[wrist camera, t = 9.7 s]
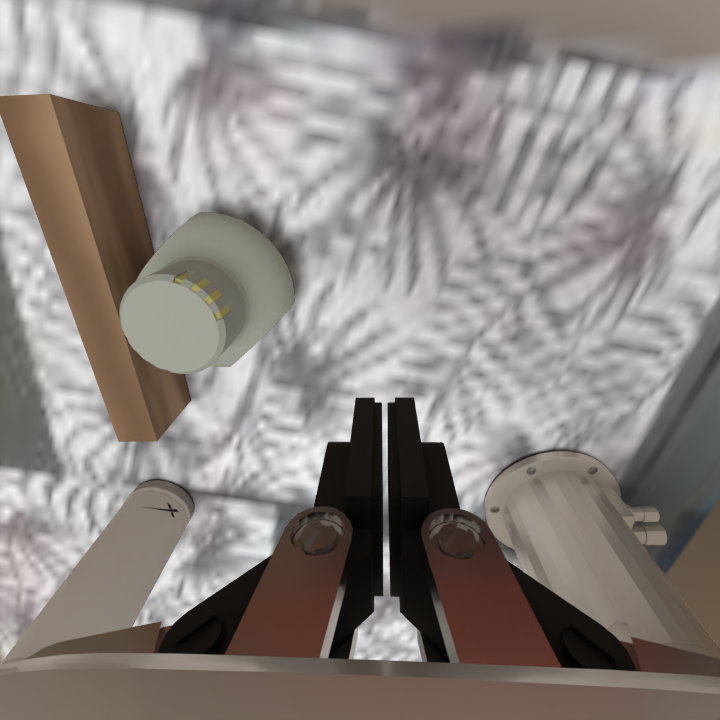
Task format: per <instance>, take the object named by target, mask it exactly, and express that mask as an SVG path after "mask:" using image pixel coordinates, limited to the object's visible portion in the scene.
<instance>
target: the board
mask: <svg viewBox="0 0 720 720" xmlns="http://www.w3.org/2000/svg"><path fill="white" fill-rule="evenodd" d="M0 115H1V118H2V120H3V123H4V126H5V129H6V131H7V134H8V137H9V140H10V142H11V145H12V148H13V151H14V154H15V156H16V159H17V162H18V165H19V167H20V170H21V173H22V176H23V178H24V181H25V184H26V187H27V189H28V192H29V195H30V198H31V201H32V203H33V206H34V209H35V212H36V214H37V217H38V220H39V223H40V225H41V228H42V231H43V234H44V236H45V239H46V242H47V245H48V248H49V250H50V253H51V256H52V259H53V261H54V264H55V267H56V270H57V272H58V275H59V278H60V281H61V283H62V286H63V289H64V292H65V295H66V297H67V300H68V303H69V306H70V308H71V311H72V314H73V317H74V319H75V322H76V325H77V328H78V331H79V333H80V336H81V339H82V342H83V344H84V347H85V350H86V353H87V355H88V358H89V361H90V364H91V366H92V369H93V372H94V375H95V378H96V380H97V383H98V386H99V389H100V391H101V394H102V397H103V400H104V402H105V405H106V408H107V411H108V413H109V416H110V419H111V422H112V425H113V427H114V430H115V433H116V436H117V438H118V441H119V442H122V441H158V440H159V438H160V437H161V436H162V435H163V434H164V432H165V431H166V430H167V429H168V428H169V426H170V425H171V424H172V423H173V421H174V420H175V419H176V418H177V417H178V415H179V414H180V413H181V412H182V411H183V409H184V408H185V407H186V406H187V405H188V403H189V402H190V401H191V398H190V394H189V390H188V386H187V382H186V378H185V374H178V373H172V372H170V371H169V370H165V369H164V370H162V369H160V368H157V367H155V366H154V365H153V364H151V363H150V362H147V361H146V360H144V359H143V358H142V357H141V356H140V355H139V354H138V353H137V352H136V351H135V350H134V349H133V348H132V346H131V345H130V344H129V341H128V339H127V337H126V336H125V335H124V332H123V330H122V327H121V322H120V304H121V301H122V298H123V295H124V294H125V292H126V291H127V289H128V288H129V287H130V286H131V285H132V284H133V283H134V282H136V280H137V278H138V276H139V274H140V273H141V271H142V270H143V268H144V267H145V265H146V264H147V263H148V261H149V260H150V259H151V258H152V256H153V255H154V251H153V247H152V243H151V239H150V235H149V231H148V227H147V223H146V219H145V215H144V211H143V207H142V203H141V199H140V195H139V191H138V188H137V184H136V180H135V176H134V172H133V168H132V164H131V160H130V156H129V152H128V148H127V144H126V140H125V136H124V132H123V128H122V124H121V120H120V116H119V113H118V112H115V111H111V110H107V109H104V108H100V107H96V106H92V105H89V104H85V103H81V102H77V101H74V100H70V99H66V98H63V97H59V96H55V95H51V94H39V95H17V96H0Z"/></svg>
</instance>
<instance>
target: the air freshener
mask: <svg viewBox="0 0 720 720" xmlns="http://www.w3.org/2000/svg"><path fill="white" fill-rule="evenodd" d="M293 304H294V287H293V281H292V278H291V275H290V272H289V269H288V267H287V265H286V263H285V261H284V259H283V257H282V255H281V254H280V253H279V251H278V250H277V248H276V247H275V246H274V245H273V243H272V242H271V241H270V240H269V239H268V238H267V237H266V236H265V235H263V234H262V233H261V232H259V231H258V230H257V229H255V228H254V227H253V226H251V225H249V224H247V223H245V222H244V221H242V220H240V219H237V218H234V217H231V216H228V215H224V214H219V213H213V212H201V213H198V214H196V215H195V216H193V217H192V218H190V219H189V220H188V221H187V222H185V223H184V224H183V225H182V226H181V227H180V228H179V229H177V230H176V231H175V232H174V233H173V234H172V235H171V236H170V237H169V238H168V239H167V240H166V242H165V243H164V244H163V245H162V246H161V247H160V248H159V249H158V250H157V252H156V253H155V254H154V255H153V256H152V258H151V259H150V260H149V261H148V263H147V264H146V265H145V267H144V268H143V270H142V271H141V273H140V274H139V276H138V278H137V280H136V282H134V283H133V284H132V285H131V286H130V287H129V288H128V289H127V291H126V292H125V294H124V295H123V298H122V301H121V304H120V322H121V327H122V330H123V332H124V335H125V336H126V337H127V339H128V341H129V344H130V345H131V346H132V348H133V349H134V350H135V351H136V352H137V353H138V354H139V355H140V356H141V357H142V358H143V359H144V360H146V361H147V362H150V363H151V364H153V365H154V366H155V367H157V368H160V369H162V370H164V369H165V370H169V371H170V372H172V373H178V374H190V373H196V372H199V371H202V370H204V369H206V368H208V367H210V366H217V367H230V366H231V365H233V364H234V363H235V362H236V361H237V360H239V359H240V358H241V357H242V356H243V355H244V354H245V353H246V352H247V351H248V350H249V349H250V348H252V347H253V346H254V345H255V344H256V343H257V342H258V341H259V340H260V339H261V338H262V337H263V336H264V335H265V334H266V333H267V332H268V331H269V330H270V329H271V328H272V327H273V326H274V325H275V324H276V323H277V322H278V321H279V319H280V318H281V317H282V316H283V315H284V314H285V313H286V312H287V311H288V310H289V309H290V307H291V306H292V305H293Z"/></svg>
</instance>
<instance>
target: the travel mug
mask: <svg viewBox="0 0 720 720" xmlns="http://www.w3.org/2000/svg"><path fill="white" fill-rule="evenodd" d="M193 511H194V506H193V502H192V500H191V498H190V496H189V495H188V494H187V493H186V492H185V491H184V490H183V489H182V488H180V487H179V486H177V485H175V484H173V483H170V482H167V481H161V480H153V481H148V482H144V483H142V484H140V485H139V486H138V487H137V488H136V489H135V490H134V491H133V493H132V494H131V495H130V497H129V498H128V500H127V501H126V502H125V503H124V504H123V506H122V507H121V508H120V510H119V511H118V512H117V514H116V515H115V516H114V517H113V519H112V520H111V521H110V523H109V524H108V525H107V527H106V528H105V529H104V530H103V532H102V533H101V534H100V536H99V537H98V538H97V539H96V541H95V542H94V543H93V545H92V546H91V547H90V549H89V550H88V551H87V552H86V554H85V555H84V556H83V558H82V559H81V560H80V562H79V563H78V564H77V565H76V567H75V568H74V569H73V571H72V572H71V573H70V575H69V576H68V577H67V578H66V580H65V581H64V582H63V584H62V585H61V586H60V588H59V589H58V590H57V591H56V593H55V594H54V595H53V597H52V598H51V599H50V600H49V602H48V603H47V604H46V606H45V607H44V608H43V610H42V611H41V612H40V613H39V615H38V616H37V617H36V619H35V620H34V621H33V623H32V624H31V625H30V626H29V628H28V629H27V630H26V632H25V633H24V634H23V636H22V637H21V638H20V639H19V641H18V642H17V643H16V645H15V646H14V647H13V648H12V650H11V651H10V652H9V654H8V655H7V656H6V658H5V659H4V660H3V661H2V663H1V665H4V664H8V663H13V662H18V661H22V660H26V659H27V658H28V657H30V656H31V655H33V654H35V653H36V652H38V651H39V650H41V649H43V648H44V647H47V646H50V645H53V644H55V643H58V642H62V641H67V640H72V639H77V638H82V637H87V636H92V635H97V634H102V633H107V632H112V631H117V630H122V629H127V628H132V626H133V624H134V622H135V620H136V619H137V617H138V615H139V613H140V611H141V609H142V608H143V606H144V604H145V602H146V600H147V598H148V596H149V595H150V593H151V591H152V589H153V587H154V585H155V583H156V582H157V580H158V578H159V576H160V574H161V572H162V571H163V569H164V567H165V565H166V563H167V561H168V559H169V558H170V556H171V554H172V552H173V550H174V548H175V546H176V545H177V543H178V541H179V539H180V537H181V535H182V533H183V532H184V530H185V527H186V526H187V524H188V522H189V521H190V519H191V517H192V515H193Z"/></svg>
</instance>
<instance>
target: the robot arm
mask: <svg viewBox="0 0 720 720" xmlns="http://www.w3.org/2000/svg"><path fill="white" fill-rule="evenodd" d="M388 506H389V550H390V594H391V596H395V597H399V598H400V613H402V614H403V615H404V616H405V617H406V618H407V619H408V620H409V621H410V622H411V623H412V624H413V625H414V626H415V627H416V628H417V638H418V644H419V648H420V653H421V657H422V662H411V661H385V660H358V659H353V658H354V653H355V648H356V643H357V636H358V626H359V625H360V624H361V623H362V622H363V621H365V620H366V619H367V618H368V617H369V616H370V615H371V614H372V613H373V612H374V596H383V472H382V403H375V399H374V398H356V400H355V408H354V416H353V424H352V432H351V440H350V442H328V444H327V448H326V453H325V458H324V462H323V467H322V472H321V476H320V481H319V485H318V490H317V495H316V499H315V504H314V507H313V508H308V509H306V510H304V511H302V512H300V513H298V514H297V515H295V516H294V517H293V518H292V519H291V520H290V521H289V523H288V524H287V526H286V527H285V529H284V531H283V533H282V535H281V537H280V539H279V541H278V544H277V546H276V548H275V550H274V552H273V554H272V555H271V556H270V557H268V558H267V559H265V560H264V561H262V562H261V563H259V564H258V565H256V566H255V567H253V568H252V569H250V570H249V571H247V572H246V573H244V574H243V575H241V576H240V577H239V578H237V579H236V580H234V581H233V582H231V583H230V584H228V585H227V586H225V587H224V588H222V589H221V590H219V591H218V592H216V593H215V594H213V595H212V596H210V597H209V598H207V599H206V600H204V601H203V602H201V603H200V604H198V605H197V606H196V607H194V608H193V609H191V610H190V611H188V612H187V613H186V614H184V615H183V616H182V617H181V618H180V619H178V620H177V621H176V622H175V623H174V624H173V625H172V626H167V627H164V626H163V623H162V621H161V622H156V623H151V624H146V625H141V626H137V627H132V628H127V629H122V630H117V631H112V632H107V633H102V634H97V635H92V636H87V637H82V638H77V639H72V640H67V641H62V642H58V643H55V644H53V645H50V646H47V647H44V648H43V649H41V650H39V651H38V652H36V653H35V654H33V655H31V656H30V657H28V658H27V659H26V660H22V661H18V662H13V663H8V664H4V665H0V720H720V648H719V647H718V646H717V644H716V643H715V642H714V641H713V639H712V638H711V636H710V635H709V633H708V632H707V631H706V629H705V628H704V627H703V625H702V624H701V623H700V621H699V620H698V619H697V617H696V616H695V615H694V613H693V612H692V611H691V609H690V608H689V607H688V605H687V604H686V603H685V601H684V600H683V598H682V597H681V596H680V594H679V593H678V592H677V590H676V589H675V588H674V586H673V585H672V584H671V582H670V581H669V580H668V578H667V577H666V575H665V574H664V573H663V571H662V570H661V569H660V567H659V566H658V565H657V563H656V562H655V561H654V559H653V558H652V557H651V555H650V554H649V553H648V551H647V550H646V548H645V547H644V546H643V545H665V544H666V542H667V535H666V531H665V530H664V528H663V526H661V525H660V524H659V523H636V524H634V521H640V522H658V521H659V517H660V516H659V512H658V510H657V509H656V508H655V507H654V506H637V507H630V506H629V505H628V504H626V503H624V502H623V501H622V499H621V492H620V487H619V485H618V483H617V480H616V479H615V477H614V476H613V475H612V473H611V472H610V471H609V470H608V469H607V468H606V467H605V466H604V465H603V464H602V463H601V462H599V461H597V460H596V459H594V458H592V457H590V456H587V455H584V454H581V453H575V452H569V451H554V452H547V453H541V454H537V455H534V456H531V457H528V458H525V459H523V460H521V461H519V462H517V463H515V464H514V465H512V466H511V467H509V468H508V469H506V470H505V471H504V472H503V473H502V474H500V475H499V476H498V477H497V478H496V480H495V481H494V482H493V484H492V485H491V486H490V488H489V490H488V493H487V495H486V498H485V503H484V512H485V517H486V520H487V523H488V525H487V524H486V523H485V522H484V521H483V520H482V519H480V518H479V517H478V516H476V515H474V514H472V513H470V512H468V511H465V510H461V509H460V507H459V502H458V498H457V494H456V490H455V486H454V482H453V478H452V474H451V470H450V466H449V462H448V458H447V454H446V450H445V446H444V444H443V443H442V442H421V439H420V433H419V427H418V420H417V414H416V408H415V401H414V398H395V403H388ZM488 526H489V527H488ZM493 534H494V535H493ZM494 536H495V537H496V538H497V539H498V540H499V541H501V542H502V543H503V544H505V545H506V546H508V547H510V548H512V549H515V552H516V555H517V557H518V560H519V562H520V565H521V568H522V570H523V571H522V570H520V569H519V568H517V567H516V566H514V565H513V564H511V563H510V562H508V561H507V560H506V558H505V556H504V554H503V552H502V550H501V548H500V547H499V545H498V543H497V541H496V539H495V537H494Z"/></svg>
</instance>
